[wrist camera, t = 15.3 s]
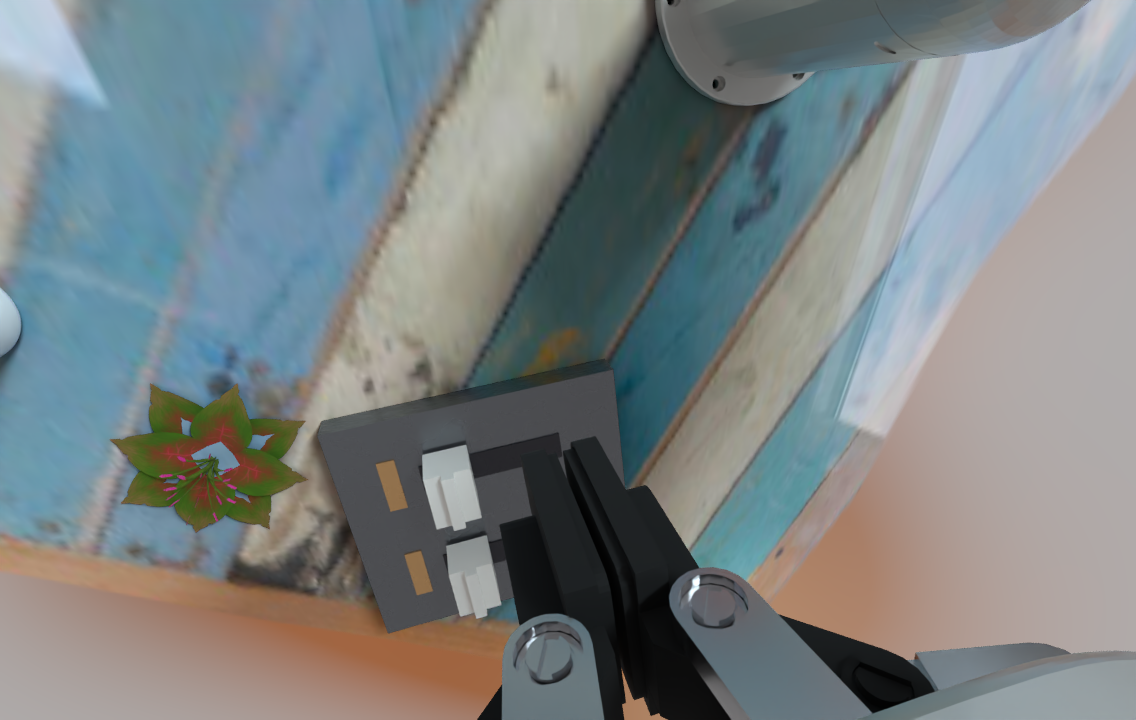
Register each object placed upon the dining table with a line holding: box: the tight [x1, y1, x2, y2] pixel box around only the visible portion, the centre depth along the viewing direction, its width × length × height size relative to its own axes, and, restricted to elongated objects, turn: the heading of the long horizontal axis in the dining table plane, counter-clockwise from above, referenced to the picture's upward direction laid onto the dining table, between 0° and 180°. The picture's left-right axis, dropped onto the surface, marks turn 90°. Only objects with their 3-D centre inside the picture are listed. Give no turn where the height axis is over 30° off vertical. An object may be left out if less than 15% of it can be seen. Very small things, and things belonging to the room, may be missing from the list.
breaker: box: [422, 445, 482, 531], centre depth 38 cm, size 3×4×4 cm
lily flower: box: [110, 383, 308, 532], centre depth 36 cm, size 12×12×5 cm
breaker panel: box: [317, 359, 625, 633], centre depth 43 cm, size 20×18×2 cm
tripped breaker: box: [446, 535, 501, 619], centre depth 42 cm, size 3×4×4 cm
